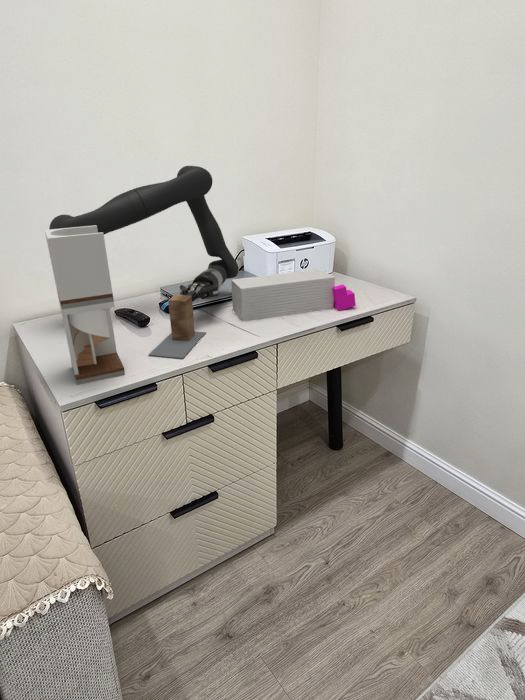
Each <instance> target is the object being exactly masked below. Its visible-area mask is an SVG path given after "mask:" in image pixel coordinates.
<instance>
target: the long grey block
mask: <svg viewBox="0 0 525 700" xmlns="http://www.w3.org/2000/svg"><path fill="white" fill-rule="evenodd" d="M335 280H336V277H335V276H334V275H332V274H330V273H328V272H327V271H325V270H323V269H321V268H319V269H318V268H317V269H310V270H303V271H294V272H285V273H284V272H283V273H276V274H269V275H267V274H266V275H261V276H260V275H259V276H258V275H257V276H250V277H241V278H231V279H230V281H231V302H232V312H233V311H234V312H235V313H234V312H233V313H234V314H235V315H236V316H237V317H238V318H239V319H240V321H241V322H247V321H255V320H256V321H257V320H260V319H261V320H262V319H268V318H276V317H282V316H290V315H296V314H303V313H309V312H317V311H323V310H330V309H335V307H334V306H333V305H334V303H333V302H334V297H333V290H332V287H335V282H336V281H335Z"/></svg>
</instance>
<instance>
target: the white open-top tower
mask: <svg viewBox="0 0 525 700" xmlns="http://www.w3.org/2000/svg"><path fill="white" fill-rule="evenodd" d="M44 234H45V238H46V244H47V248H48V252H49V254H48V255H49V259H50V264H51V268H52V272H53V273H52V274H53V277H54V281H55V282H54V283H55V287H56V293H57V298H58V303H59V306H60V313H61V316H62V321H63V328H64V332H65V337H66V341H67V342H66V343H67V346H68V351H69V356H70V362H71V366H72V371H73V375H74V378H75V382H76V385H82V384H87V383H91V382H96V381H101V380H105V379H111V378H116V377H119V376H120V377H121V376H124V375H126V372H125V367H124V365H123V362H122V360H121V358H120V356H119V353H118V352H117V351H118V350H117V345H116V339H115V338H116V337H115V332H114V326H113V320H112V319H113V318H112V315H111V313H112V312H111V309H113V308H115V301H114V294H113V288H112V280H111V279H112V278H111V274H110V268H109V260H108V254H107V248H106V240H105V234H103V232H101V233H98V230H97V225H94V226H83V227H72V228H61V229H50V230H49V229H45V230H44Z"/></svg>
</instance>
